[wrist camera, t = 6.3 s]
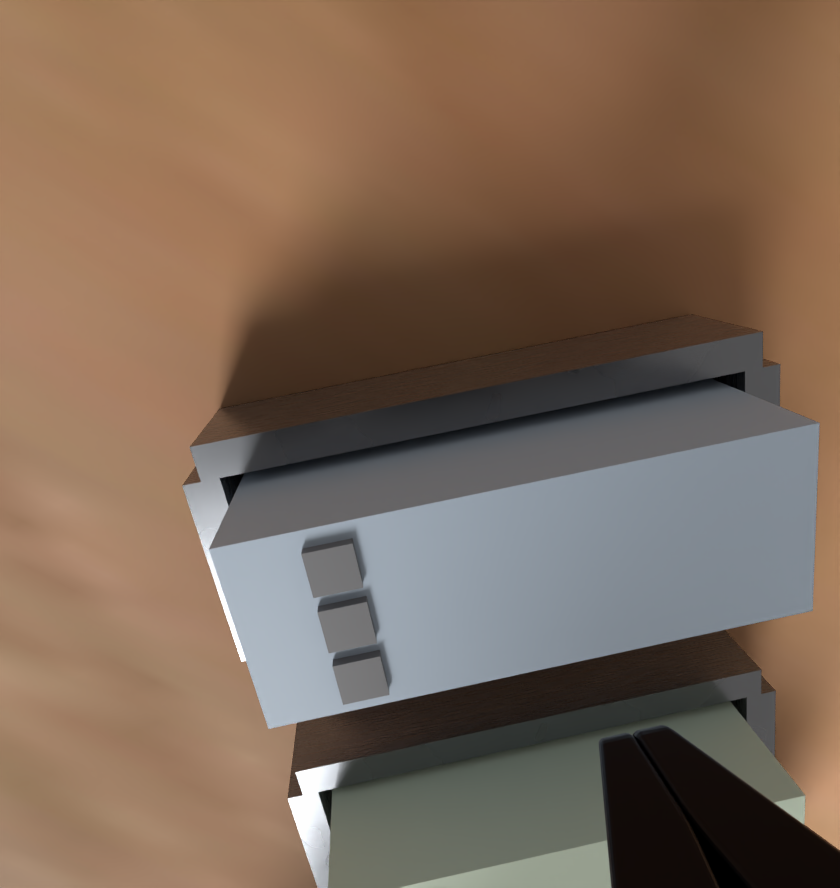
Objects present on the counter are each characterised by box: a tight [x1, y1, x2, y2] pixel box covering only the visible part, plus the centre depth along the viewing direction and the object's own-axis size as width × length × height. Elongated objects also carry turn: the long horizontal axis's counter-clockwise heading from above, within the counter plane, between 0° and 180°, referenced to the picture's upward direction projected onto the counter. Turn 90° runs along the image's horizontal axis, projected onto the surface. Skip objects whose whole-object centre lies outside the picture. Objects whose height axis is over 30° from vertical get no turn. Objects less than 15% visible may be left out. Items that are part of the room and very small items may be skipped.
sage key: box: [328, 701, 805, 888], centre depth 17 cm, size 11×4×6 cm, turn 100°
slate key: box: [209, 378, 819, 729], centre depth 14 cm, size 11×4×6 cm, turn 100°
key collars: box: [182, 314, 780, 888], centre depth 19 cm, size 13×24×3 cm, turn 10°
